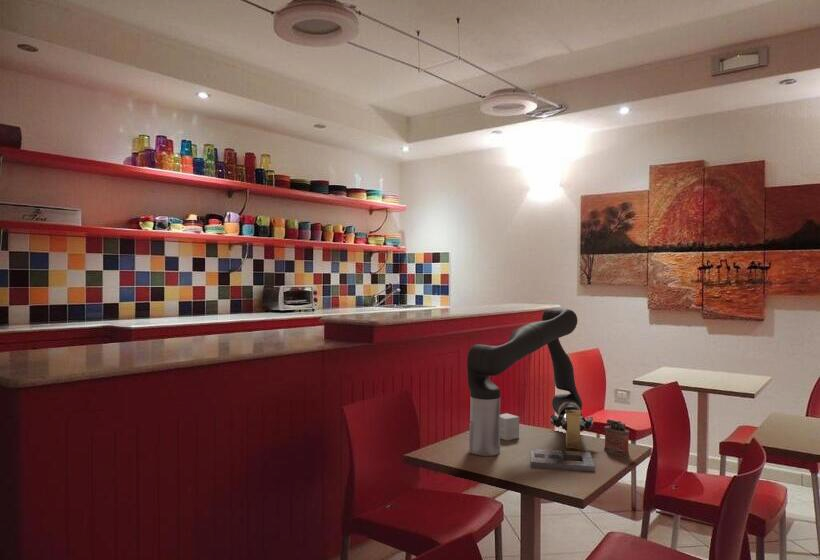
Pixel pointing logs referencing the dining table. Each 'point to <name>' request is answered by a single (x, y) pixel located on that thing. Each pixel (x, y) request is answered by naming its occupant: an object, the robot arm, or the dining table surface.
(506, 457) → the dining table surface
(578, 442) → the yellow rectangular block
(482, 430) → the robot arm
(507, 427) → the product box
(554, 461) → the grey slotted tray
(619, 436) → the lighter
